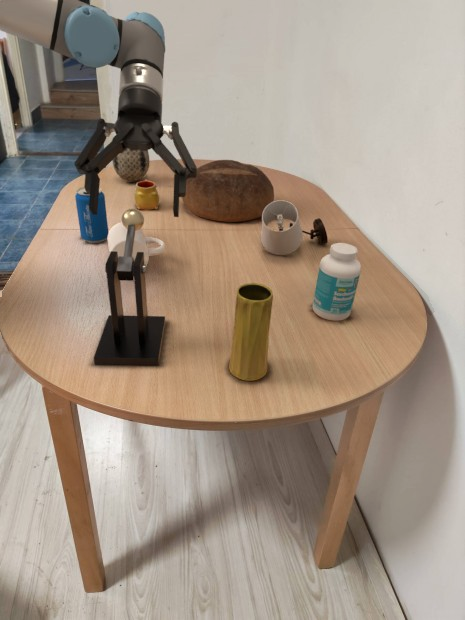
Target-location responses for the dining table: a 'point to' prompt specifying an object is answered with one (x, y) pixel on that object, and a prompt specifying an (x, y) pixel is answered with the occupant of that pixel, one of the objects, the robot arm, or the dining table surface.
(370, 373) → the dining table surface
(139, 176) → the decorative egg
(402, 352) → the dining table surface
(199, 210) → the bread
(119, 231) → the mug
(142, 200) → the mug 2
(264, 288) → the vase
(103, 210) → the beverage can
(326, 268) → the pill bottle
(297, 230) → the light fixture
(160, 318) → the stand
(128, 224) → the lever
